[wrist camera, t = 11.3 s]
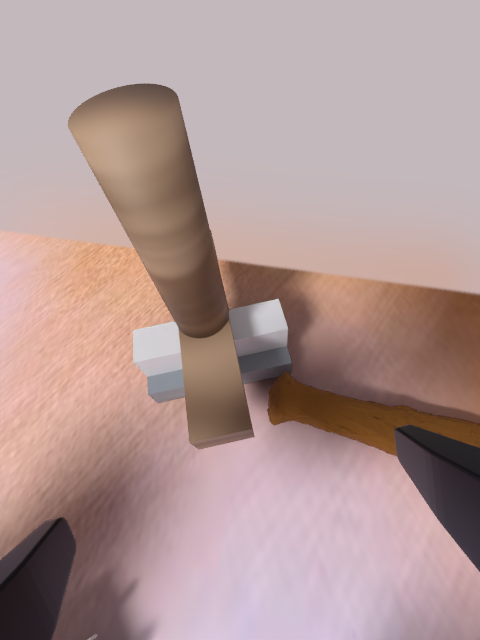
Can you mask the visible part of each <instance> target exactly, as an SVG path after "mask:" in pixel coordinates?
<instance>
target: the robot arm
mask: <svg viewBox="0 0 480 640" xmlns="http://www.w3.org/2000/svg"><path fill="white" fill-rule="evenodd" d="M394 437H395V444H396V452H397V456H398V459H399V461H400V463H401V465H402V466H403V468H404V469H405V471H406V472H407V474H408V475H409V477H410V478H411V480H412V481H413V483H414V484H415V486H416V487H417V489H418V490H419V492H420V493H421V495H422V496H423V498H424V499H425V501H426V502H427V504H428V506H429V507H430V509H431V510H432V511H433V513H434V514H435V516H436V517H437V519H438V520H439V521H440V523H441V524H442V525H443V526H444V528H445V529H446V530H447V532H448V533H449V534H450V535H451V537H452V538H453V539H454V540H455V542H456V543H457V544H458V545H459V547H460V548H461V549H462V550H463V552H464V553H465V554H466V555H467V557H468V558H469V559H470V560H471V561H472V563H473V564H474V565H475V566H476V568H477V569H478V570H479V571H480V448H479V447H476V446H473V445H470V444H467V443H464V442H461V441H458V440H455V439H452V438H449V437H446V436H443V435H440V434H437V433H434V432H431V431H429V430H426V429H423V428H420V427H417V426H414V425H410V424H407V425H403V426H400V427H396V428H395V429H394ZM75 552H76V541H75V538H74V536H73V534H72V531H71V529H70V527H69V525H68V522H67V520H66V519H65V518H64V517H58V518H54V519H50V520H47V521H45V522H44V523H43V524H42V525H40V526H39V527H38V528H37V529H36V530H35V531H34V532H32V533H31V534H30V535H29V536H28V537H27V538H25V539H24V540H23V541H22V542H21V543H20V544H19V545H17V546H16V547H15V548H14V549H13V550H12V551H10V552H9V553H8V554H7V555H6V556H5V557H3V558H2V559H1V560H0V640H52V637H53V634H54V631H55V628H56V625H57V621H58V618H59V614H60V610H61V607H62V603H63V599H64V595H65V591H66V587H67V583H68V579H69V576H70V572H71V568H72V564H73V560H74V556H75Z"/></svg>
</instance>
